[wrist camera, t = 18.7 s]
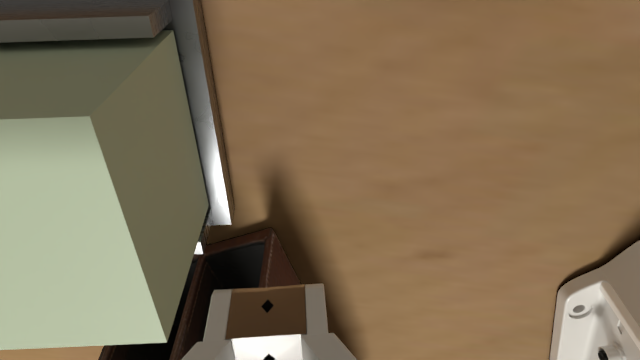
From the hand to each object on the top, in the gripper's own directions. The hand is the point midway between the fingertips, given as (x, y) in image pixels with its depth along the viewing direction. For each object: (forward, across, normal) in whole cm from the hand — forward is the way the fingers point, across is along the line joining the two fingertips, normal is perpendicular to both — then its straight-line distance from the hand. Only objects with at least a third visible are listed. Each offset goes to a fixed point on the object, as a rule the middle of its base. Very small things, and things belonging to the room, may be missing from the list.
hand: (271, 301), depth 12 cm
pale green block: (+12, +10, 0) cm, 16 cm away
